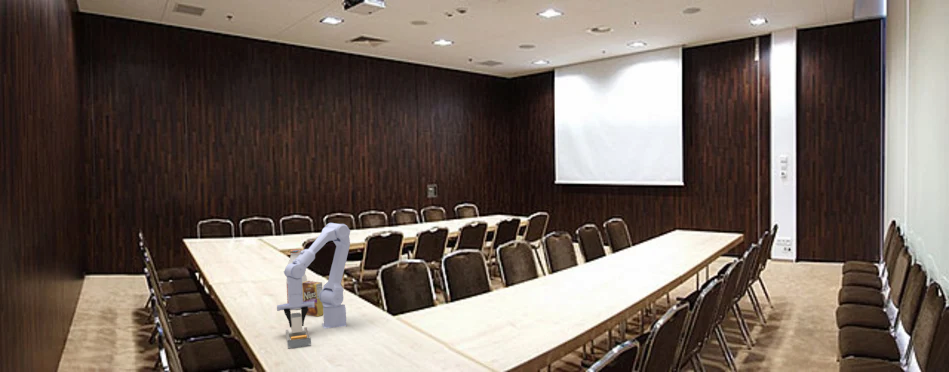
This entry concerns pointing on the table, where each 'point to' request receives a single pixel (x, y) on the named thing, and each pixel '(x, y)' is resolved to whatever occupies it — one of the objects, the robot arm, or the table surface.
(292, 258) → the fruit juice
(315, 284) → the candy box
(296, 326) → the module
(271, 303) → the table surface
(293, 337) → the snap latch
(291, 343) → the gray u-shaped frame
